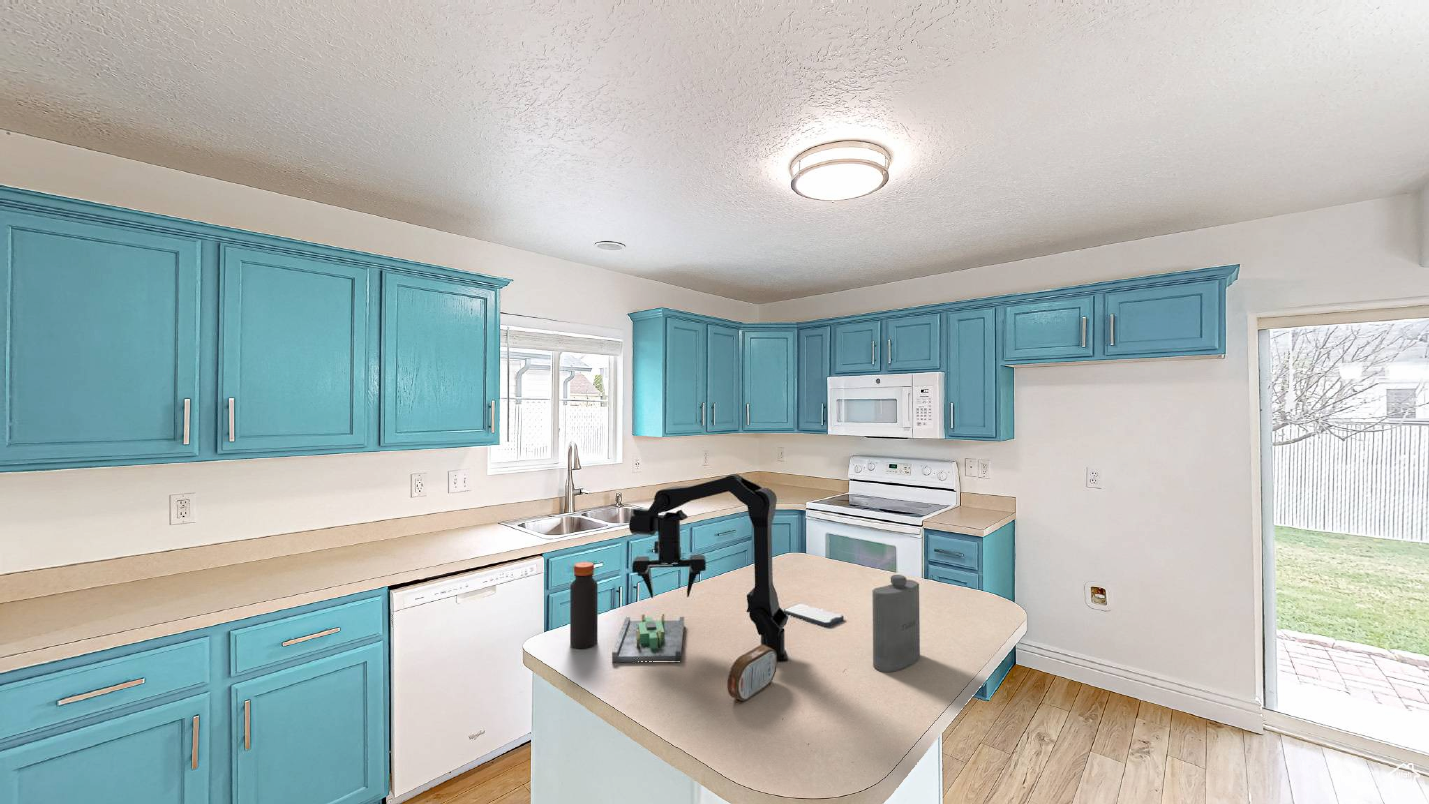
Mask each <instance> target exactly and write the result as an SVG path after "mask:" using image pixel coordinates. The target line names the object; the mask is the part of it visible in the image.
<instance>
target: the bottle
mask: <svg viewBox="0 0 1429 804" xmlns="http://www.w3.org/2000/svg"><path fill="white" fill-rule="evenodd" d="M594 571H595V563H594V562H590V561H581V562H577V563H575V564H573V575H574V577H575V579H574V580H573V581H572V582H571V584H570V587H569V588H570V589H569V593H570V594H569V595H570V598H569V599H570V601H569V603H570V604H569V607H570V609H569V610H570V611H569V612H570V613H569V614H570V615H569V619H570V621H569V622H570V623H569V632H570V634H569V638H570V639H569V644H570V646H571V647H572V648H573V649H578V650H582V649H583V650H584V649H588V648H589V649H590V648H592V647H594V646H596V645H597V643H598V639H599V638H598V631H599V630H598V627H599V626H598V623H599V622H598V617H599V616H598V612H599V610H598V600H599V599H598V594H599V593H598V591H599V590H598V589H599V588H598V587H599V586H598V582H597V580H596V579H594V578H593V576H594V573H595V572H594Z"/></svg>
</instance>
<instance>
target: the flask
mask: <svg viewBox="0 0 1429 804" xmlns="http://www.w3.org/2000/svg"><path fill="white" fill-rule="evenodd" d="M920 620H921V619H920V583H919V582H918V581H915V580H912V579H908V578H907V577H906V576H904V575H902V574H893V575H891V576H890V584H888V585H885V586H880V587H875V588H874V589H872V667H874V669H876V670H877V671H880V672H882V673H893V672H896V671H900V670H903V669H906V668H907V667H910V666H911V665H913V664H914V663H915V662H917V661H918V660H919V659H920V657H921V656H920V655H921V650H920V649H921V647H920V646H921V641H920V638H921V637H920V636H921V634H920V633H921V631H920V629H921V628H920V622H921V621H920Z"/></svg>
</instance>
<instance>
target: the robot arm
mask: <svg viewBox="0 0 1429 804" xmlns="http://www.w3.org/2000/svg"><path fill="white" fill-rule="evenodd" d="M728 492H729V493H730V494H732V495H733V496H734V497H735V498H736V499H737V500H738V501H740V502H741V504H744V505H745V506H747V512H748V517H749V520H750V522H751V524H752V527H753V556H754V557H753V558H754V559H753V560H754V561H753V563H754V587H753V588H752V589H751V590H750V591H749V592H748V593H747V594H746V602H747V609H746V613H748V614H749V618H750V620H751V621H752V623H753V624H754V625H755V628H756V630H757V635H759V636H760V645H765V646H767V647H769V648H772V649H773V650H775V652H776V654H777V662H787V661H788V660H789V658H788V655H787V652H786V649H785V647H786V645H785V641H786V640H785V639H786V638H785V628H784V627H785V626H786V625H787V622H788V620H789V615H786V614H785V612H784V609H782V608H781V606H780V603H779V597H778V593H777V590H776V588H775V586H774V581H773V578H774V577H773V575H774V574H773V539H772V538H773V535H772V534H773V533H772V532H773V531H772V529H773V528H772V525H773V522H774V518H775V513H776V508H777V503H778V500H777V499H778V498H777V495H776V493H775V492H774V491H773V490H772V489H770V488H768V487H762V486H760V485H759V484H757V483H755V482H752V481H751V480H748V479H746V478H744V477H742V476H741V475H740V474H738V473H733V474H729V475H727V476H724V477H721V478H717V479H713V480H709V481H705V482H702V483H699V484H698V483H697V484H694V485H693V484H692V485H688V486H687V485H680V486H677V485H676V486H669V487H666V488H662V489H659V490H657V491H656V493H655V495H654V498H653V500H654V501H653V502H652V504H650V507H649V508H641V507H636V508H633V510H632V512H633V513H632V515H631V516H630V520H629V524H628V529H629V531H630V534H632V535H641V536H654V535H655V534H656V533H657V541H656V540H655V541H654V544H653V545H654V546H653V549H654V550H653V553H654V554H655V555H658V559H650V556H649V555H647V556H636V557H635V558H634V559H633V561H632V566H631V567H632V568H631V571H632V573H634V574H635V573H636V574H637V577H641V578H642V580H643V582H644V584H645V585H646V587H647V590H648V593H649V595H650V597H651V599H653V598H654V588H653V579H652V570H651V569H652V568H654V569H655V568H659V569H660V568H688V567H689V568H688V569H689V571H688V578H687V579H688V581H687V588H686V598H689V597H690V594H691V591H692V587H693V584H694V582H695V579H697V576H698V575H701V573H702V572H704V571H706V570H707V568H706V567H707V562H706V561H707V560H706V556H705V555H704V554H692V555H691V554H690V558H684V559H683V558H682V547H681V521H684V520H686V519H688V515H687V514H685V513H684V511H683V510H682V509H679V510H676V512H670V511H672V510H674V509H677V508H680V507H682V506H684V505H685V504H688V503H690V502H692V501H696V500H700V499H704V498H707V497H711V496H716V495H720V494H724V493H728ZM662 513H664V515H663V514H662Z"/></svg>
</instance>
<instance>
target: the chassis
mask: <svg viewBox="0 0 1429 804" xmlns="http://www.w3.org/2000/svg"><path fill="white" fill-rule="evenodd" d="M645 617H646V616H645V613H642V614H641V620H631V617H630V616H628V617H627V616H626V617H625V618H624V621H623V624H622V625H621V626H622V627H621V629H620V631H619V633H618V635H617V639H616V641H615V644H614V646H613V649H612V651H611V652H612V653H611V654H612V655H611V660H612V661H611V663H612V664H616V663H615V662H638V661H639V662H641V661H643V662H645V661H647V662H649V661H652V662H653V661H681V662H682V654H681V653H682V652H683V643H682V642H684V633H683V632H684V631H685V616H679V620H665V614H664V613H661V615H660V617H661V620H660V621H661V622H662V625H663V628H664V632H665V642H661V630H658V648H654V649H650V646H649V643H648V644H640V631H639V630H638V622H645ZM613 662H614V663H613Z"/></svg>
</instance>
